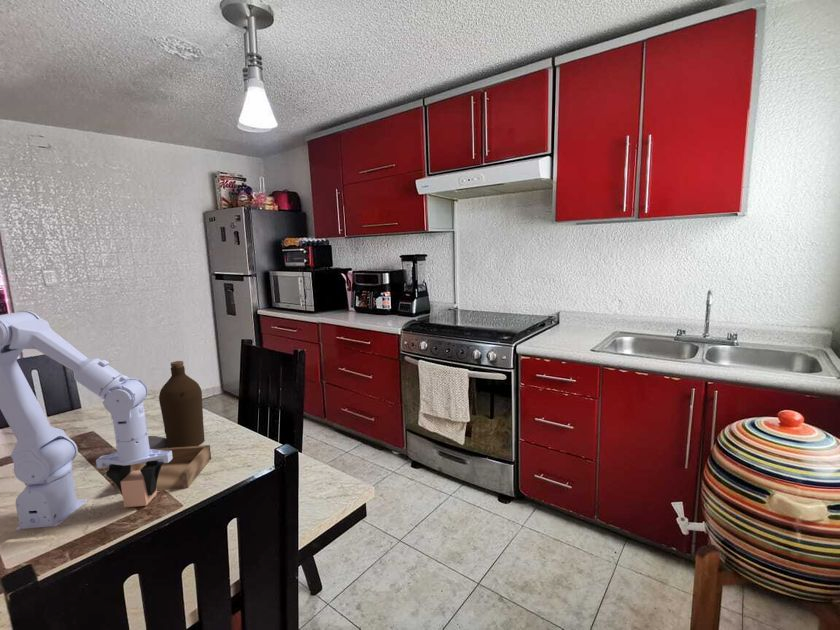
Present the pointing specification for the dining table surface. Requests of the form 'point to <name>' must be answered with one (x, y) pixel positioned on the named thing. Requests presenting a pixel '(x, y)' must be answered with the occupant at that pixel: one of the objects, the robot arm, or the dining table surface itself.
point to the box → (179, 467)
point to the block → (135, 490)
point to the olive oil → (182, 409)
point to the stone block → (154, 443)
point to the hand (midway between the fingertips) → (139, 494)
